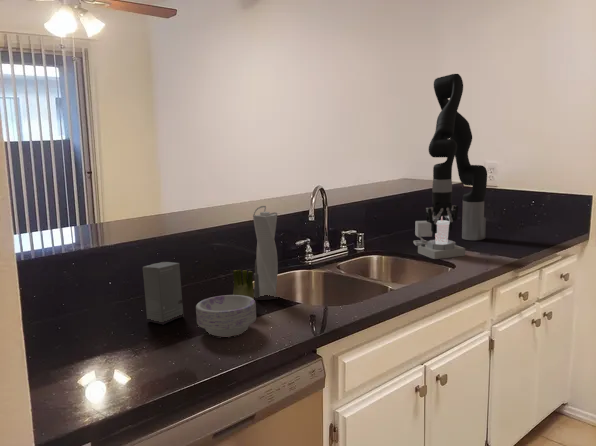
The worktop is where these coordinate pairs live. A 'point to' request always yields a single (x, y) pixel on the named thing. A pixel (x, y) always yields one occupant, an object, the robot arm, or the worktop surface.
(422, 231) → the security camera
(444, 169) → the robot arm
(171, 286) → the skincare box
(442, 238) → the beverage cup
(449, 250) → the mount block
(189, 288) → the worktop surface
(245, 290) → the fennel bulb
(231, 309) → the paper bowls
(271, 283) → the skyscraper
